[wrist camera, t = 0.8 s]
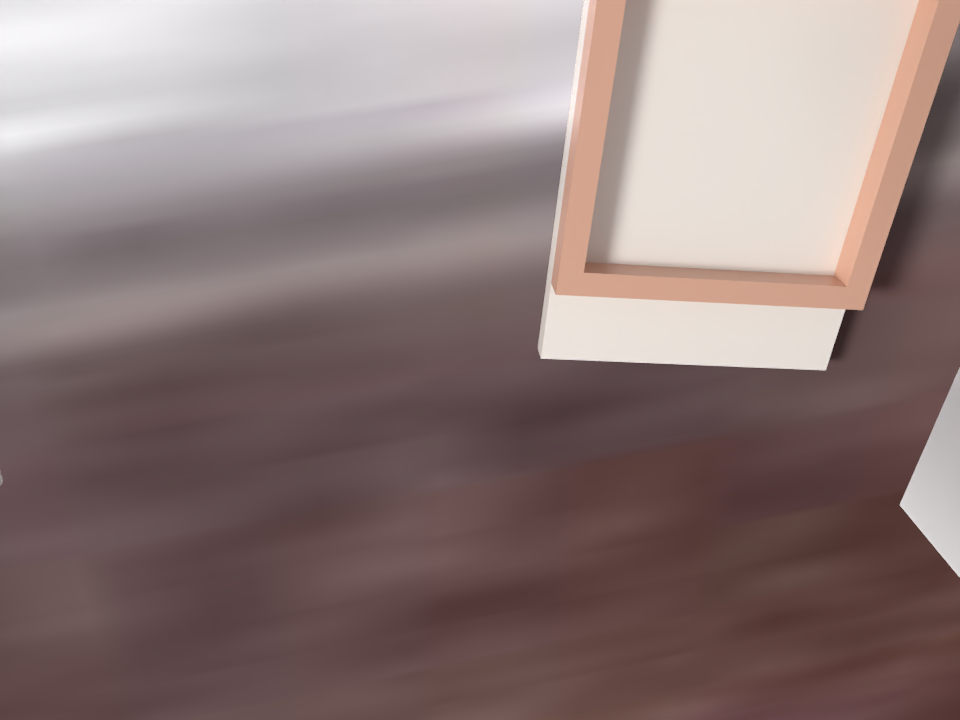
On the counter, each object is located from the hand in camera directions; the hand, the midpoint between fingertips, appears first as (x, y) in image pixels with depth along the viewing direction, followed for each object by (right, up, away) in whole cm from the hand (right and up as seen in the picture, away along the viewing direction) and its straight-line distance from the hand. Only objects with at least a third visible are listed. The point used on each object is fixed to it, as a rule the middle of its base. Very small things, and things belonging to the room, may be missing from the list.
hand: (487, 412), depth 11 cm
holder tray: (+10, +10, +21) cm, 25 cm away
